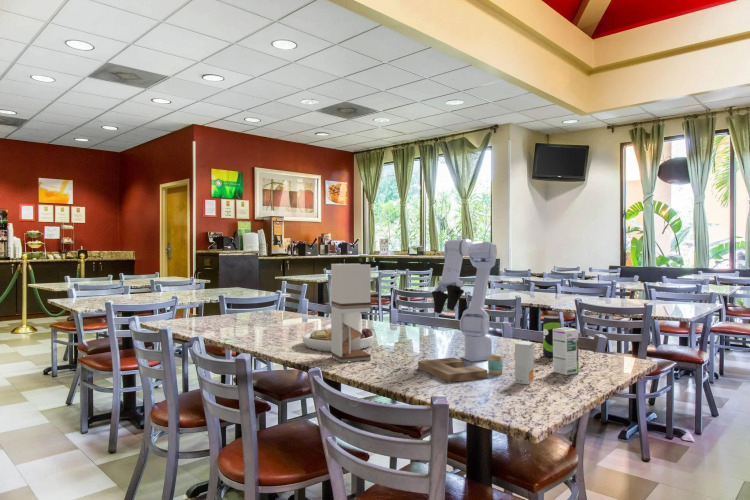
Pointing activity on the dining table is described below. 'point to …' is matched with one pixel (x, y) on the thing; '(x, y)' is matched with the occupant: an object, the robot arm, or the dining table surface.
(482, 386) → the dining table surface
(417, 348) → the dining table surface
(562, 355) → the syrup box
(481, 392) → the dining table surface
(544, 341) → the beverage can
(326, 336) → the bowl
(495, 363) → the wooden bobbin
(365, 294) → the white cutaway tower
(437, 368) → the notched board
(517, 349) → the skincare box
